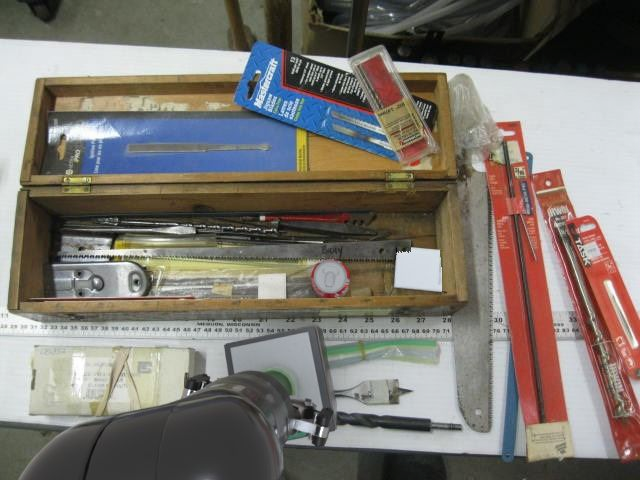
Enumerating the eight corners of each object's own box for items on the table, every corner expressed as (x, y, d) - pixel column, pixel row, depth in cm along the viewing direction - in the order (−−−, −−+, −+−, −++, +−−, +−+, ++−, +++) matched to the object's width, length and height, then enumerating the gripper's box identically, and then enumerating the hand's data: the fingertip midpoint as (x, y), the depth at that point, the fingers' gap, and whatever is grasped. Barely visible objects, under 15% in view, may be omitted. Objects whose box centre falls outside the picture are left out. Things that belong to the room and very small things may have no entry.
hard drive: (395, 247, 91) (458, 253, 90) (393, 287, 89) (456, 294, 88) (396, 245, 89) (460, 251, 89) (394, 286, 88) (459, 293, 87)
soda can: (351, 269, 90) (353, 259, 78) (346, 305, 89) (347, 299, 77) (315, 264, 91) (312, 253, 79) (310, 300, 89) (306, 294, 77)
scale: (335, 427, 60) (335, 432, 58) (242, 447, 60) (238, 452, 58) (315, 326, 63) (314, 325, 61) (227, 344, 63) (222, 345, 61)
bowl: (302, 405, 59) (299, 411, 54) (260, 414, 59) (253, 420, 54) (294, 361, 60) (290, 363, 55) (252, 369, 60) (245, 372, 55)
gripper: (136, 450, 35) (199, 415, 50) (317, 503, 33) (323, 450, 49) (167, 352, 36) (219, 348, 52) (341, 399, 35) (339, 380, 51)
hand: (269, 398), depth 50 cm, fingers open, 8 cm apart
